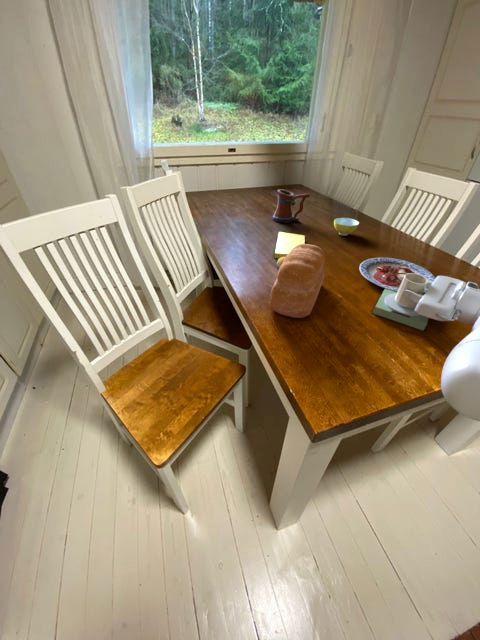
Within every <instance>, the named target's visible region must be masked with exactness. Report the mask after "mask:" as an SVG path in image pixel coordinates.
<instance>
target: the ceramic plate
mask: <svg viewBox="0 0 480 640" xmlns="http://www.w3.org/2000/svg"><path fill="white" fill-rule="evenodd" d="M358 269H359V272H360V274H361V275H362V276H363V278H365V279H366V280H367V281H369V282H371V283H372V284H374V285H376V286H378V287H381V288H383V289H387V290H390V291H394V292H398V289H399V287H400V285H401V283H402V280H403V278H404V276H405V274H408V273H414V274H419V275H422V276H424V277H426V278H427V279H428V280H429V281H432V282H434V280H435V279H436V276H434V274H432V273H431V272H430V271H429V270H427V269H426V268H424V267H422V266H420V265H418V264H416V263H412V262H410V261H407V260H403V259H398V258H392V257H373V258H368V259H365V260H363V261H362V262H361V263H360V264H359V268H358ZM427 290H428V289H426V288H425V290H424V292H423V294H425V293H426V291H427Z"/></svg>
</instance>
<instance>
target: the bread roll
mask: <svg viewBox="0 0 480 640" xmlns="http://www.w3.org/2000/svg"><path fill="white" fill-rule="evenodd" d="M284 259H285V257H281V258H278V259H277V262H276V267H277V268H278V269H279V268H280V267H281V265H282V263H283V261H284Z"/></svg>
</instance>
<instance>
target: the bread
mask: <svg viewBox="0 0 480 640" xmlns="http://www.w3.org/2000/svg"><path fill="white" fill-rule="evenodd" d="M325 262H326V255H325V252H324V251H323V249H322V248H321V247H320V246H317V245H314V244H309V243H305V244H300V245H297V246H296V247H294V248H293V249H292V250H291V252H290V253H289V254H288V255H287V256H286V257H285V259H284V261H283V263H282V265H281V267H280V268H278V271H277V273H276V280H275V281H274V284H273V285H272V288H271V290H270V296H269V297H270V298H269V305H270V307H271V310H272V311H273V312H275V313H277V314H279V315H281V316H286V317H290V318H296V319H304V318H305V317H307V316H309V315H311V313H312V311H313V308H314V306H315V304H316V302H317V299H318V296H319V293H320V290H321V287H322V285H323V282H324V280H325V276H326V268H325V265H324V264H325Z"/></svg>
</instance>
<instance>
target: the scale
mask: <svg viewBox="0 0 480 640" xmlns="http://www.w3.org/2000/svg"><path fill="white" fill-rule="evenodd" d="M396 294H397V291H392V290H389V289H386V288H384V290H383V291H382V294H381V295H380V296H379V299H378V301H377V303H376V305H375V306H374V309H373V311H372V314H374V315H376V316H380V317H383V318H385V319H388V320H390V321H394V322H397V323H399V324H402V325H405V326H409V327H411V328H415V329H417V330H420V331H424V330H425V329H426V328H427V326H428V322H429V318H428V317H425V316H422V315H419V314H418V313H416V312H415V308H416V307H412V308H410V307H404V306H401V305H399V304H398V303H396V301H395V296H396Z"/></svg>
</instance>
